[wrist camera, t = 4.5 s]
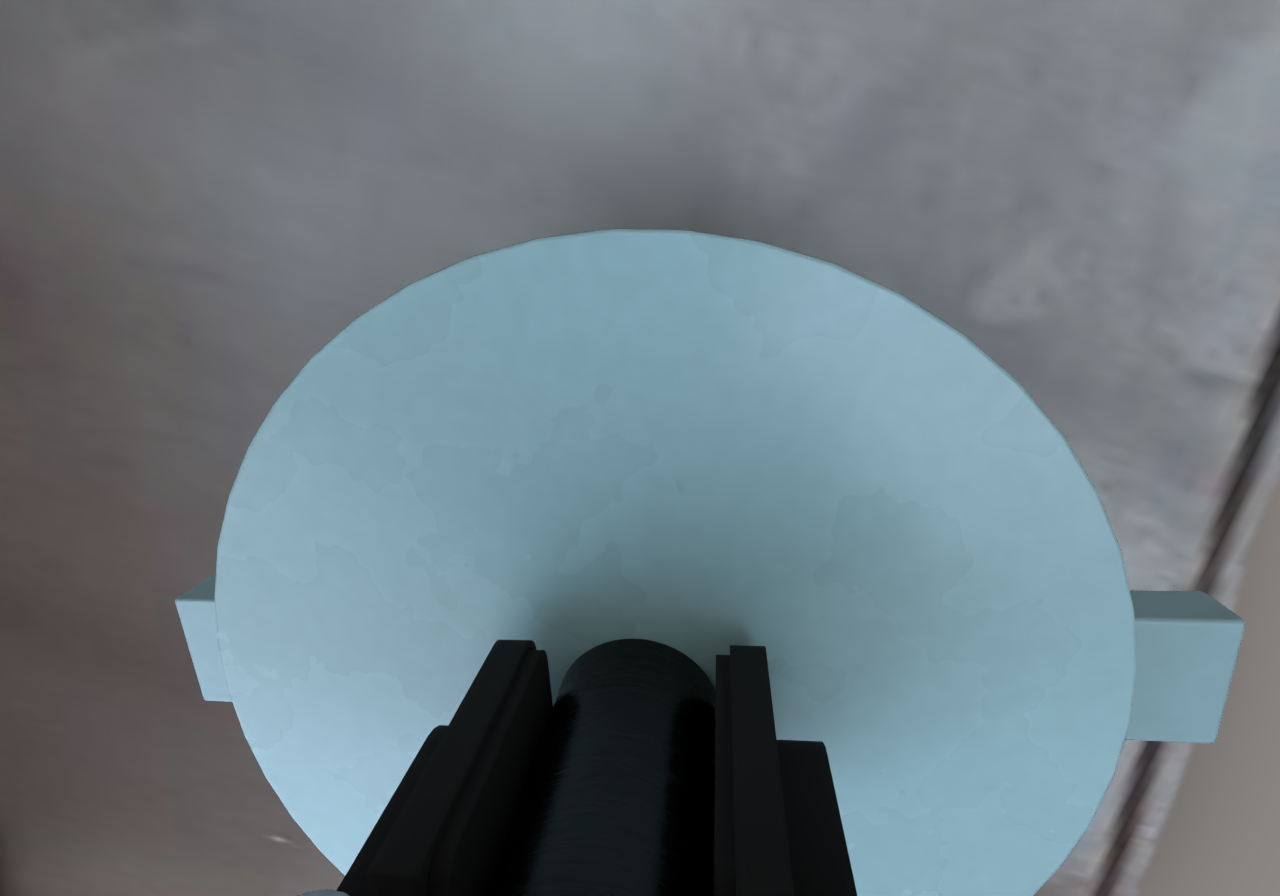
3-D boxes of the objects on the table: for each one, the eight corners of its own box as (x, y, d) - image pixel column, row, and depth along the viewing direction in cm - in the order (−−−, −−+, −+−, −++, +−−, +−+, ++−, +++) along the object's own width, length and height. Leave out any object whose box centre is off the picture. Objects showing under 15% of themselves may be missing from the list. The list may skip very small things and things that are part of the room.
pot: (343, 285, 18) (46, 313, 10) (1054, 250, 16) (1399, 250, 8) (414, 686, 22) (241, 933, 14) (994, 708, 20) (1181, 1023, 12)
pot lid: (164, 257, 10) (-578, 274, 4) (1180, 198, 8) (2272, 88, 2) (341, 930, 14) (89, 1387, 9) (1031, 990, 13) (1297, 1622, 7)
